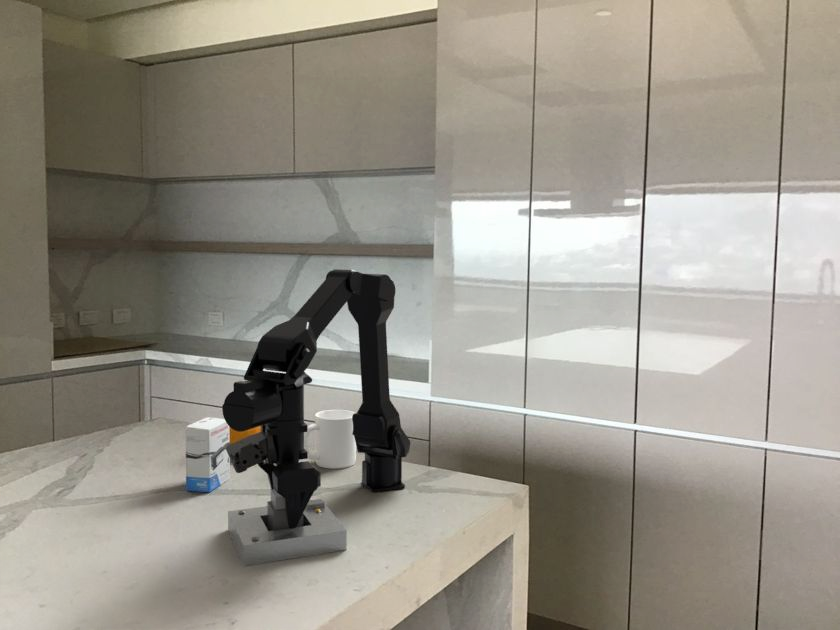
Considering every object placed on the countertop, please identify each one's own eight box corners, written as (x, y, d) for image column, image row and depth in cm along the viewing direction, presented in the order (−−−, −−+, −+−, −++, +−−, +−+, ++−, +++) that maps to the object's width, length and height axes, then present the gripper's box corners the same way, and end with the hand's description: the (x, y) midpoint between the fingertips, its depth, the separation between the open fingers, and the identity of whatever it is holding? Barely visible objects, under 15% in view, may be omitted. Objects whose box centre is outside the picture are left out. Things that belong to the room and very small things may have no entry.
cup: (364, 464, 152) (364, 415, 151) (313, 475, 144) (313, 424, 143) (340, 454, 158) (341, 407, 157) (291, 465, 151) (291, 416, 150)
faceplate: (320, 516, 123) (320, 494, 123) (346, 549, 110) (346, 524, 110) (228, 529, 117) (227, 506, 117) (243, 566, 105) (243, 539, 104)
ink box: (210, 493, 134) (209, 429, 132) (184, 491, 135) (183, 427, 133) (231, 478, 142) (230, 417, 141) (207, 476, 143) (206, 416, 142)
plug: (296, 528, 117) (296, 485, 116) (303, 539, 113) (303, 494, 112) (267, 532, 115) (267, 488, 114) (273, 544, 111) (273, 498, 110)
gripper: (220, 407, 117) (222, 503, 119) (241, 437, 100) (242, 549, 102) (290, 402, 122) (291, 494, 123) (321, 429, 105) (321, 537, 106)
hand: (285, 517), depth 114 cm, fingers open, 9 cm apart
